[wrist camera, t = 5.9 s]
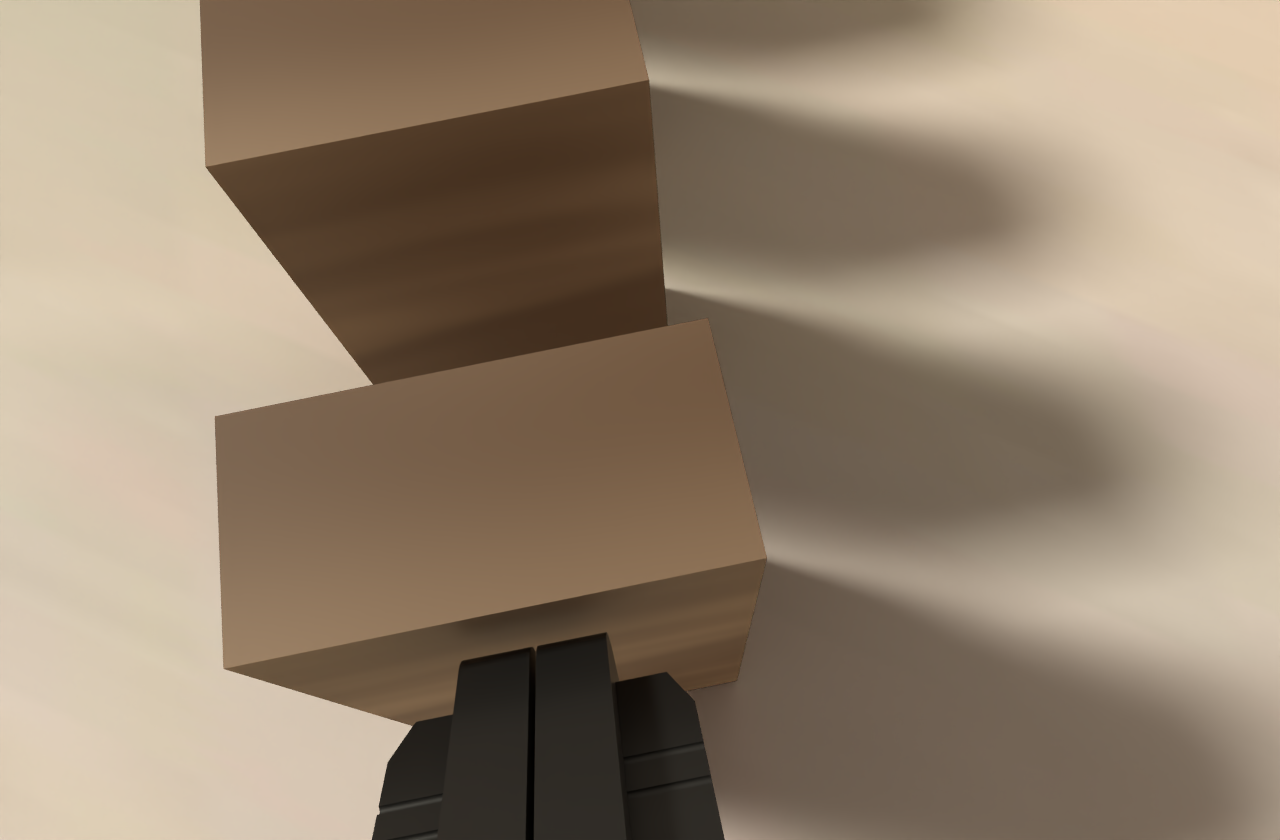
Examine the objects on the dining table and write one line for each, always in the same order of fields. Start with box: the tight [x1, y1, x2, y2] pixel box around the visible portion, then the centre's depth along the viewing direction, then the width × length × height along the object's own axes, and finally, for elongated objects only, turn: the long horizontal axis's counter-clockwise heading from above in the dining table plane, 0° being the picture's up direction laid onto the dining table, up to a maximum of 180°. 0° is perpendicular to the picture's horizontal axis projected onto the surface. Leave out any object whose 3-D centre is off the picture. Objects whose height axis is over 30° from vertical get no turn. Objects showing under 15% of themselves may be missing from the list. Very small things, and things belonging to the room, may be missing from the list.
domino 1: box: [200, 0, 667, 385], centre depth 16 cm, size 2×5×9 cm, turn 101°
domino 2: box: [215, 318, 767, 726], centre depth 14 cm, size 2×5×9 cm, turn 101°
